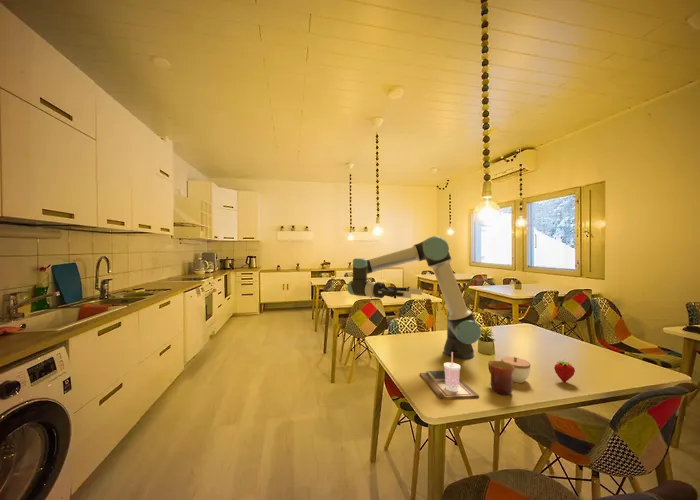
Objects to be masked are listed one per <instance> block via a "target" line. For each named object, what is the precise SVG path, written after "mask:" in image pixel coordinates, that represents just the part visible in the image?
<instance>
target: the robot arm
mask: <svg viewBox="0 0 700 500" xmlns="http://www.w3.org/2000/svg"><path fill="white" fill-rule="evenodd" d="M449 248H450V247H449V244H448V242H447V241H446V239H444V238H443V237H441V236H436V235H434V236H429V237H428V238H426V239H425V240H423V241H421V242H418V243H415V244H413V245H412V247H409V248H405V249H401V250H398V251H394V252H390V253H388V254H383V255H381V256H377V257H373V258H369V259H367V258H353V260H352V280H350V281H349V282H348V285H347V292H348V293H349V294H350V295H352V296H356V297H367V298H368V297H369V298H370V299H372V298H377V299H383V298H384V297H385V296H386V297H389V298H393V299H397V298H404V299H412V295H419V296H422V295H423V289H422V288H413V287H412V288H411V287H410V286H407V287H395V286H386V284H385V283H384V282H375V281H368V274H371V273H376V272H378V271H382V270H385V269H389V268H393V267H397V266H401V265H403V264H407V263H412V262H415V261H417V262H422V261H426V264H427V266H428V267H429V268H431V269H432V271H433V273H434V276H435V278H436V280H437V284H438V285H439V288H440V291H441V294H442V297H443V300H444V302H445V305H446V308H447V309H448V311H447V314H446V330H447V331H446V333H447V334H446V336H447V337H446V340H445V343H444V346H443V353H444V355H446V356H448V357H451V358H452V352H453V358H456V359H457V358H458V359H471V358H473V357H475V351H474V348H473V345H472V344H475V343H476V342H477V341H479V340H480V338H481V336H482V329H481V327H480V325H479V323H478V322H477V321H476V319H475V316H474V314H473V312H472V310H470V309H468V307H467V305H466V302H465V299H464V297H463V294H462V291H461V289H460V286H459V283H458V281H457V277H456V276H455V274H454V271H453V268H452V265H451V261H452V257H451V254H450V249H449Z"/></svg>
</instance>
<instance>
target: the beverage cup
mask: <svg viewBox="0 0 700 500" xmlns="http://www.w3.org/2000/svg"><path fill="white" fill-rule="evenodd" d="M453 359H454V357H453V352H452V357H451V362H444V363H443V367H444V370H445V383H446V389H447V390H449V391H453V392H456V391H458V389H459V378H460V373H461V372H460V371H461V367H462V366H461V365H460V364H458V363H455V362H454V360H453Z"/></svg>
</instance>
